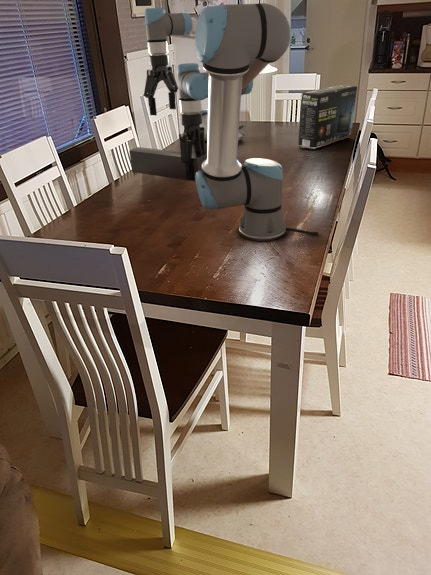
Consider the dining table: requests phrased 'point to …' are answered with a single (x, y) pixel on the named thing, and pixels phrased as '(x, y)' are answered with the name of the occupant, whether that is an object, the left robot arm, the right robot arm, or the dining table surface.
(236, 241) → the dining table surface
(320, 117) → the router box
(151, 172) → the bar
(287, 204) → the dining table surface
